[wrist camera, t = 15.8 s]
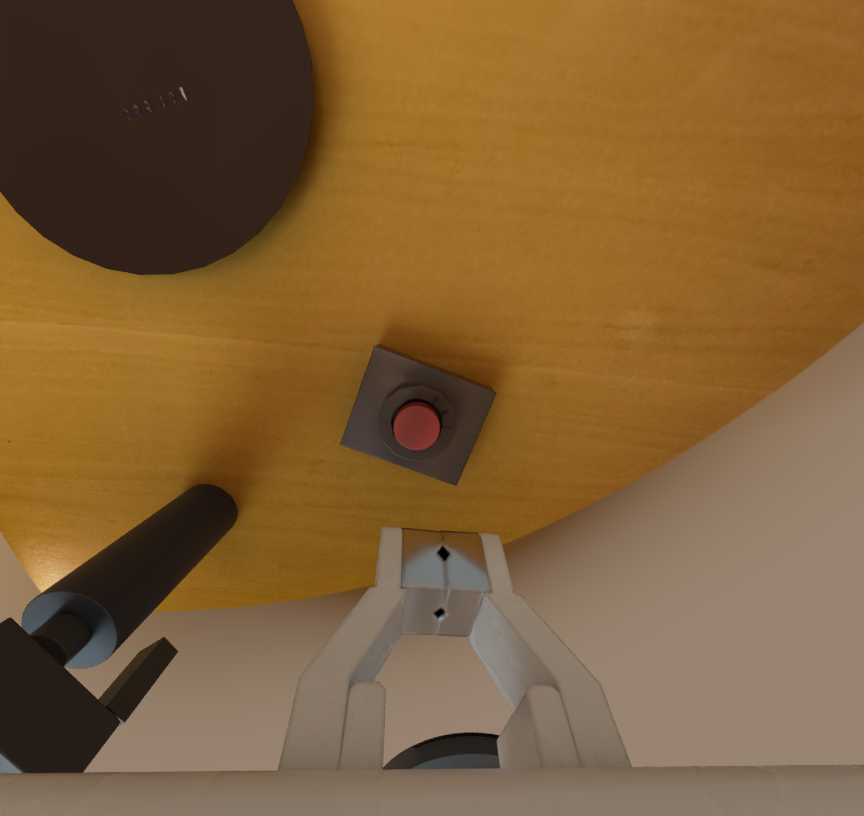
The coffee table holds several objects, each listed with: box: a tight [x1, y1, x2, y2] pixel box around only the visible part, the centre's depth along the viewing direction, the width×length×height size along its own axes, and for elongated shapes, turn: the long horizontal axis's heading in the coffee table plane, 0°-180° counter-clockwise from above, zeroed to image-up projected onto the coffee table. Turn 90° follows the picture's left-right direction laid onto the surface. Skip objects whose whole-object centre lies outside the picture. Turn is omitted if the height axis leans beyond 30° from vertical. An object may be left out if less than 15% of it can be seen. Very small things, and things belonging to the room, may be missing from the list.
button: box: [394, 402, 440, 450], centre depth 33 cm, size 4×4×2 cm
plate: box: [0, 0, 314, 275], centre depth 30 cm, size 28×28×4 cm
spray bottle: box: [0, 485, 237, 773], centre depth 29 cm, size 10×6×22 cm, turn 32°
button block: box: [340, 344, 496, 486], centre depth 36 cm, size 12×10×4 cm
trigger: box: [98, 637, 178, 725], centre depth 26 cm, size 2×2×5 cm
